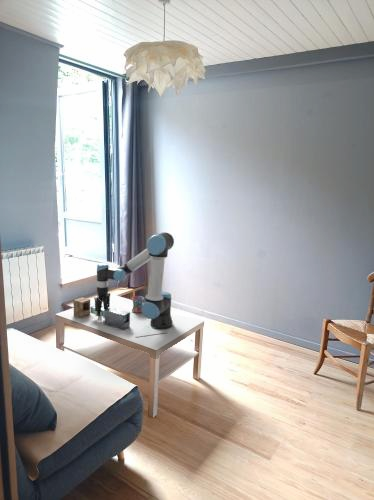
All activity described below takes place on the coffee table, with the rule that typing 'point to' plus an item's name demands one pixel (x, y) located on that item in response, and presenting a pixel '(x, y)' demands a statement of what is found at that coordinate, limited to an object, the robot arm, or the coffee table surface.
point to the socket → (81, 307)
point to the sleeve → (117, 318)
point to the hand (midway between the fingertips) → (102, 319)
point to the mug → (137, 303)
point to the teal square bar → (103, 312)
